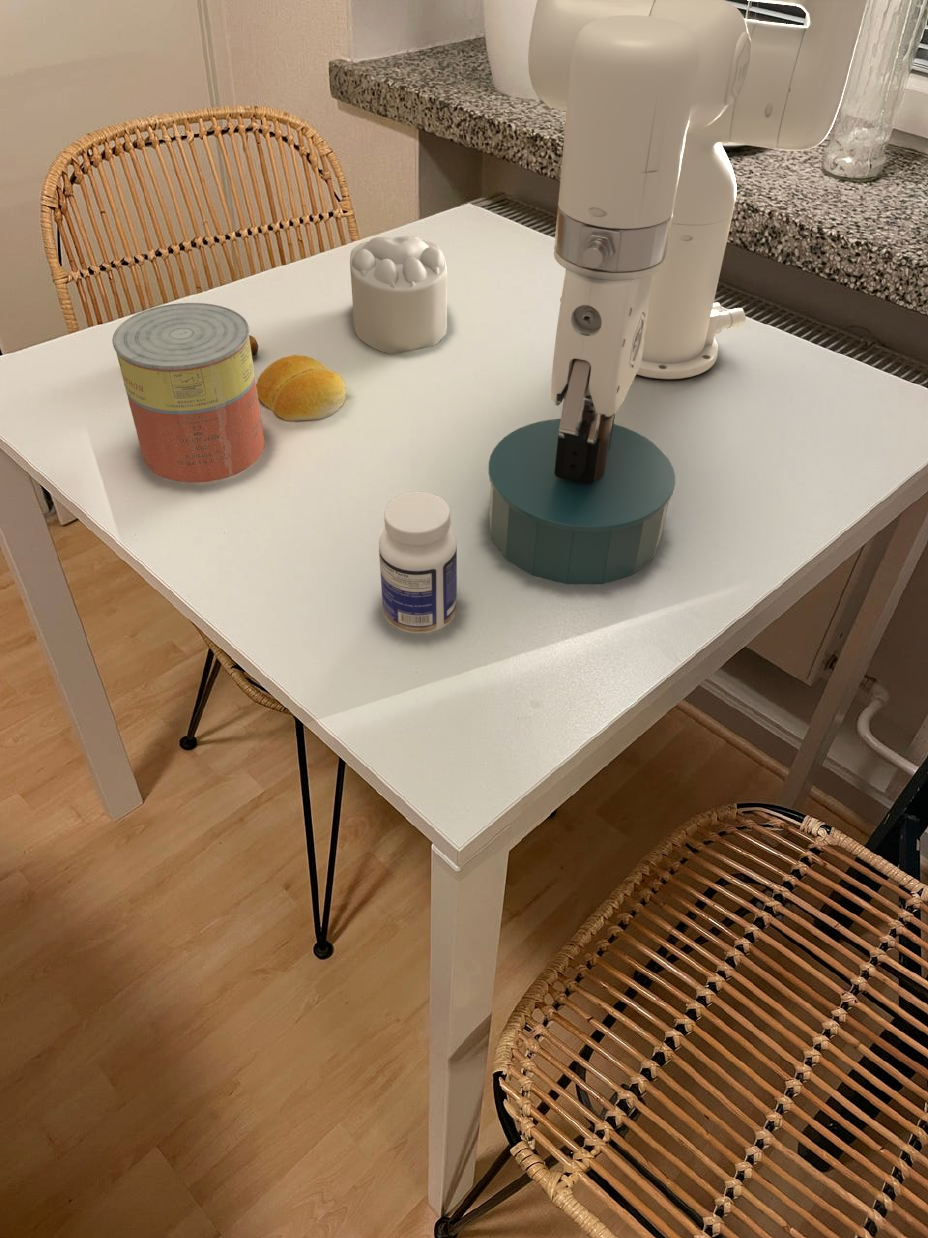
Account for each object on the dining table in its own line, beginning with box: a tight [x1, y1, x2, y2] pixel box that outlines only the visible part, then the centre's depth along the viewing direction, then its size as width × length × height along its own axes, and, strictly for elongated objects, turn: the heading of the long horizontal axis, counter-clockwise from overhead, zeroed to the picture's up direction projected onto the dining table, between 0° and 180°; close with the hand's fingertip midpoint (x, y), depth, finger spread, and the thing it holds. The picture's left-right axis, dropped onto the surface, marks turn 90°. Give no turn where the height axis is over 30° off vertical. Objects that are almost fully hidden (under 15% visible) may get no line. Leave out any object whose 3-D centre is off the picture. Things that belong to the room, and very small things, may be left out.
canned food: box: [112, 302, 265, 483], centre depth 85 cm, size 11×11×12 cm
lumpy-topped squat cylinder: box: [349, 235, 448, 355], centre depth 104 cm, size 10×13×9 cm
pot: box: [488, 483, 669, 585], centre depth 79 cm, size 14×14×6 cm
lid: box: [488, 397, 676, 532], centre depth 75 cm, size 15×15×7 cm
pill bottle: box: [378, 491, 458, 634], centre depth 71 cm, size 6×6×10 cm
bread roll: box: [256, 354, 347, 422], centre depth 94 cm, size 8×9×4 cm
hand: (582, 461), depth 76 cm, fingers closed on lid, 3 cm apart
